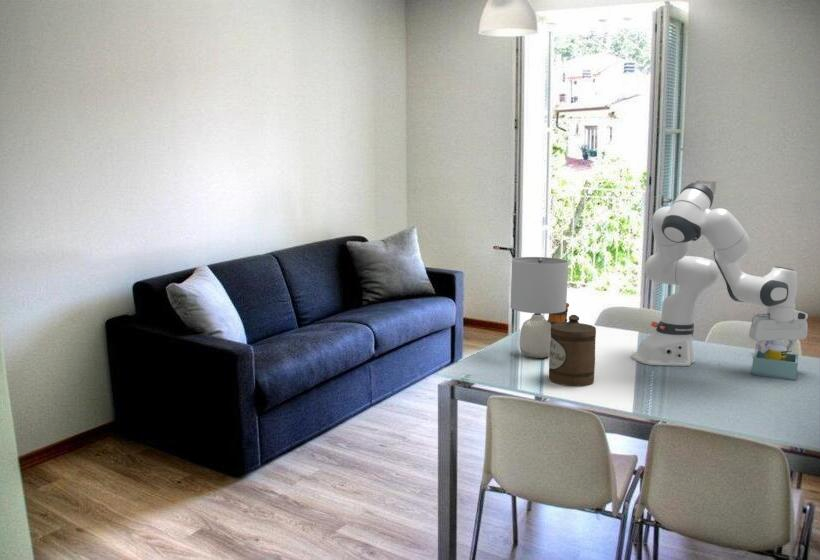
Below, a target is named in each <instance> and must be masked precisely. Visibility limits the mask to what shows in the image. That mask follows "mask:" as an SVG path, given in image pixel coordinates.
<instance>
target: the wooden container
mask: <svg viewBox="0 0 820 560" xmlns="http://www.w3.org/2000/svg"><path fill="white" fill-rule="evenodd" d="M568 320H569V321H567V322H564V323H555V324H552V325H551V340H550V355H549V356H548V359H549V360H548V380H549V381H551V382H552V383H555V384H557V385H558V384H559V385H562V386H570V387H584V386H588V385H592V384H593V383H594V381H595V370H596V369H595V368H596V338H597V337H596V336H597V328H596V327H595V326H594V325H591V324H586V323H582V322H581V323H580V322H579V320H580V318H579V316H578V315H577V314H570V315H569V316H568Z"/></svg>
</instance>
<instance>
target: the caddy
mask: <svg viewBox="0 0 820 560" xmlns="http://www.w3.org/2000/svg"><path fill="white" fill-rule="evenodd" d="M753 354H754V355H753V357H752V366H751V375H753V376H758V377H760V376H761V377H766V378H767V377H768V378H774V379H780V380H781V379H783V380H788V381H789V380H790V381H797V374H798V364H799V363H798V362H799V354H797V353H791V352H787V356H786V361H779V360H772V359H765V358H766V353H762V352H761V350H755V349H754V353H753Z"/></svg>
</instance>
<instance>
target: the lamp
mask: <svg viewBox="0 0 820 560" xmlns="http://www.w3.org/2000/svg"><path fill="white" fill-rule="evenodd" d="M568 272H569V260H567V259H563V258H557V257H556V258H555V257H545V256H522V257H521V256H519V257H513V258H512V260H511V283H510V284H511V285H510V286H511V287H510V307H509V308H510V309H511V310H513V311H517V312H521V313H528V314H532V315H531V317H530V318H529V319H528V318H527V320H525V321H524V322H523V323H522V325H521V327H520V328H521V329H520V332H519V349H520V352H521V353H522V354H523V355H524V356H525V357H527V358H532V359H545V358H546V357H549V355H550V340H551V323H550V322H548V321H547V320H548V319H547V320H546V319H545V317H544V315H543V314H546V315H549V314H552V313H560V312H564V311H566V303H567V292H568V276H569V273H568Z"/></svg>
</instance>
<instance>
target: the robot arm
mask: <svg viewBox="0 0 820 560" xmlns="http://www.w3.org/2000/svg"><path fill="white" fill-rule="evenodd" d="M714 196H715V195H714V192H713V191H712V190H711V188H710V187H708V186H707V185H705V184H703V183H701V182H691V183H689V184H688V185H686V186H684V187H683V189H682V190H681V191H680V193H679V194H678V196H677V197H676V198H675V199H674V201H673V202H672V204H671V206H669V205H667V206H663V207H660V208H658V209H657V210H656V211H655V212H654V213H653V215H652V219H651V226H652V227H651V228H652V233H653V237H654V241H655V245H656V249H657V251H656V253H654V254H652V255H650V256H649V257H648V258H647V260H646V261H645V264H644V272H645V276H646V277H647V279H648V280H650V281H653V282H656V283H660V284H665V285H673V286H675V285H676V286H679V289H678V291H677V292H676V293H673V294H670V295H668V296H666V297H665V298H664V299H663V301H662V304H661V318H660V320H659V322H656V321H653V320H652V322H651V323H650V325H651V327H653V328H656V329H655V331H654V332H652V333H651V334H649V335H648V336H646V337H645V338H643V339H642V340H641V341H640V342H639V345H638V349H637V352H633V353H631V359H633V360H634V361H637V362H638V363H641V364H644V365H648V366H672V367H673V366H678V367H680V366H685V367H689V366H691V364H693V363H695V362H696V361H695V356H694V350H693V349H694V348H693V347H694V345H693V337H694V331H695V327H694V326H695V323H694V315H695V307H696V305H697V304H696V303H697V301H698V299H699V297H700V296H701V294H702V293H703V292H704V291H705V290H707V289H708V288H710V287H711V286H713V285H714V284H715V283H716V282H717V280H718V277H719V271H720V273H721V276H722V278H723V280H724V281H725V284H726V289H727V293H728V296H729V297H730V298H731V300H732V301H735V302H737V303H738V302H740V303H747V304H751V305H756V306H761V307H763V306H764V307H765V313H756V314H755V315H754V316H753V317H752V318H751V324H750V328H749V333H748V336H749V338H750V340H751V341H752V340H753V341H755V342H756V341H758V343H759V345H760V347H761V352H762V353H767V352H768V348H766V347H765V344H766V341H769V340H779V339H785V341H788V344H787V345H785V346H786V347H787V353H792V351H793V348H794V346H796V343H797V341H799V340H803V341H804V340H805V339H806V338H807V335H808V330H809V329H808V326H809V325H808V322H807V321H808V318H809V315H808V313H806V312H804V311H800V310H799V309H796V303H795V300H796V296H797V292H798V275H797V271H796V270H794V269H793V268H789V267H783V266H772V268H771V271H770V272H769V273H767V274H766V275H763V276H758V275H752V274H748V273H746V272H744V271H742V270H741V268H740V266H739V264H738V262H739V261H740V260H742V259H743V258H744V257H745V256H746V255H747V254H748V253H749V251H750V249H751V239H750V237H749V235H748V233H747V232H746V230H745V228H744V227H743V226H742V224H741V223H740V222H739V220H738V219H737V218H736V217H735V216H734V215H733V214H732V213H731V212H730V211H729V210H728V209H726V208H722V207H719V208H717V207H716V208H713V209H710V208H711V207H712V205H713V202H714ZM701 236H703V237H704V238H706V239H707V241H708V243H709V244H710V246H711V247H712V249H713V258H714V260H715V261H714V260H712V259H710V258H706V257H702V256H696V255H695V256H693V255H688V254H689V252H690V250H691V246H692V245H691V244H692V243H691V241H693V242H694V241H696V242H697V240H699V239H700V238H701Z"/></svg>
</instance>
